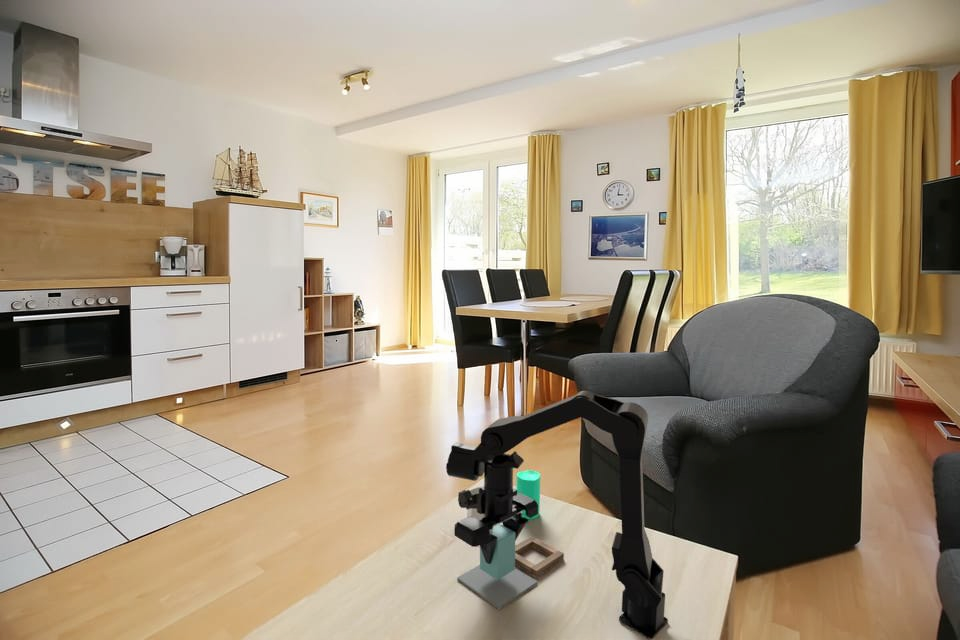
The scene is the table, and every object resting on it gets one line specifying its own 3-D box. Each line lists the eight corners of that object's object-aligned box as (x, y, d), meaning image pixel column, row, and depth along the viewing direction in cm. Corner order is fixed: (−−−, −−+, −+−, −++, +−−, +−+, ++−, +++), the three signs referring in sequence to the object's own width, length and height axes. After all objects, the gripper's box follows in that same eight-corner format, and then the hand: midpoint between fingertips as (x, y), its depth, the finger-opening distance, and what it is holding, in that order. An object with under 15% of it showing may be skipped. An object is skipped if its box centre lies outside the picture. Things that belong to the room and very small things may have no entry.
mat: (537, 583, 101) (537, 581, 101) (499, 609, 94) (499, 607, 94) (495, 558, 110) (495, 555, 110) (457, 579, 102) (457, 577, 102)
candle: (539, 508, 132) (540, 464, 131) (539, 520, 126) (540, 474, 125) (516, 507, 133) (517, 463, 131) (515, 518, 127) (516, 473, 125)
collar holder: (563, 559, 110) (563, 553, 109) (536, 577, 103) (536, 571, 103) (531, 542, 116) (531, 536, 116) (504, 558, 110) (504, 551, 110)
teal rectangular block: (514, 569, 102) (515, 532, 101) (497, 580, 98) (497, 541, 97) (497, 558, 105) (497, 522, 104) (479, 568, 102) (480, 531, 101)
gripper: (502, 459, 112) (501, 525, 113) (436, 484, 99) (436, 558, 101) (540, 475, 104) (539, 546, 105) (474, 505, 91) (474, 585, 93)
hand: (497, 557), depth 101 cm, fingers closed on teal rectangular block, 5 cm apart
